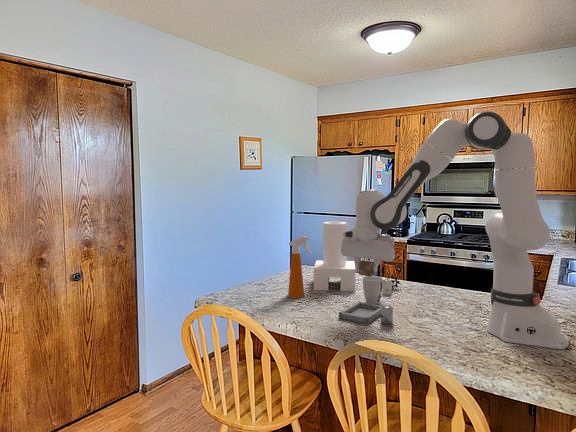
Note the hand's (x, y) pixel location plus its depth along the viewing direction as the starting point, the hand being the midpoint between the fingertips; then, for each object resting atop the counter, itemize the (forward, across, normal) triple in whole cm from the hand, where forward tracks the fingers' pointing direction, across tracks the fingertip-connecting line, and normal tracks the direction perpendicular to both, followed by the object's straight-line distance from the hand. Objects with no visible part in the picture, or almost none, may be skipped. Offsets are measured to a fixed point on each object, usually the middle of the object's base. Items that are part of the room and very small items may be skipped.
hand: (367, 270), depth 147 cm
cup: (+16, +3, -14) cm, 22 cm away
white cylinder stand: (+17, +29, -28) cm, 44 cm away
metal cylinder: (+16, -11, +6) cm, 21 cm away
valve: (+17, +4, -33) cm, 37 cm away
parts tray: (+16, 0, +4) cm, 17 cm away
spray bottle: (+16, +32, -4) cm, 37 cm away
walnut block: (+2, 0, 0) cm, 2 cm away
